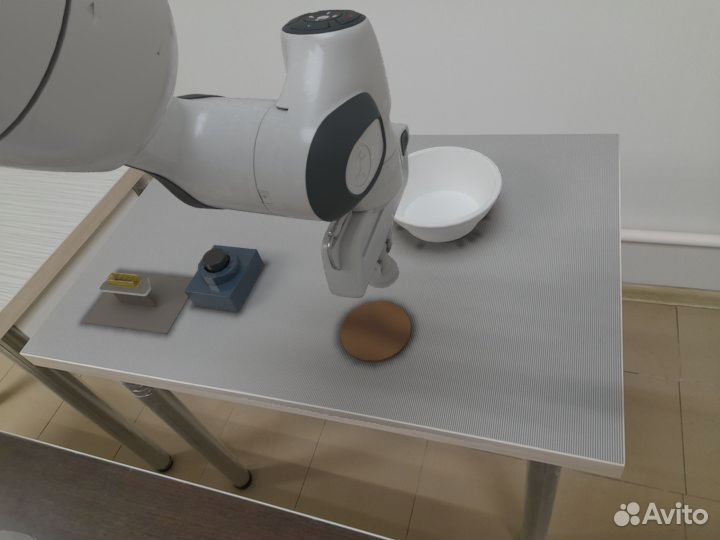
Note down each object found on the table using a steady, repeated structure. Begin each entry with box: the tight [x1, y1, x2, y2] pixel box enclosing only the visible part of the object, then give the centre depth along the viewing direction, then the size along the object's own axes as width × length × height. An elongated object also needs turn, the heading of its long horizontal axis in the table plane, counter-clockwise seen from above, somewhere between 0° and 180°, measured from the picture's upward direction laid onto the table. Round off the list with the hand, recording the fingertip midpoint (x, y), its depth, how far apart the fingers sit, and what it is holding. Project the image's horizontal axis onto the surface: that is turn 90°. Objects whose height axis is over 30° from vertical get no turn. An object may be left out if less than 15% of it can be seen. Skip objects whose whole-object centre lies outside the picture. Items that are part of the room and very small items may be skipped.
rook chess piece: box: [368, 240, 401, 289], centre depth 64 cm, size 4×4×8 cm
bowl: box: [393, 145, 503, 243], centre depth 92 cm, size 21×21×8 cm
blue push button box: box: [185, 244, 265, 314], centre depth 91 cm, size 11×9×6 cm
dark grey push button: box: [201, 248, 229, 273], centre depth 89 cm, size 4×4×2 cm
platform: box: [83, 271, 192, 334], centre depth 93 cm, size 12×18×7 cm, turn 75°
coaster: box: [340, 300, 412, 363], centre depth 81 cm, size 11×11×1 cm
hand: (380, 260), depth 64 cm, fingers closed on rook chess piece, 3 cm apart
